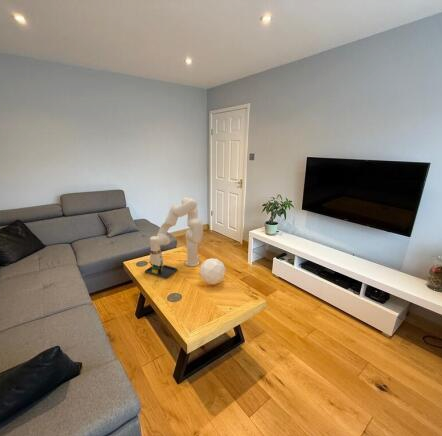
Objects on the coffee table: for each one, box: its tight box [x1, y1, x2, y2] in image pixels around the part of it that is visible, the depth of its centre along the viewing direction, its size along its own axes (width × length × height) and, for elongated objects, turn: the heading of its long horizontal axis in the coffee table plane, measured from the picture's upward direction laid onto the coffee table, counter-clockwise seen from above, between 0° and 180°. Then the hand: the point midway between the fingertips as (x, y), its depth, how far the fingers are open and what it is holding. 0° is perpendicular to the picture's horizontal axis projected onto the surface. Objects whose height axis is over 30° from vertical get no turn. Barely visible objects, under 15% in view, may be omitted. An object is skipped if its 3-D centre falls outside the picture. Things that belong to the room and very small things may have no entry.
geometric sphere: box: [199, 257, 227, 286], centre depth 177 cm, size 19×20×20 cm
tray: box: [144, 264, 178, 280], centre depth 194 cm, size 16×22×2 cm
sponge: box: [152, 265, 162, 274], centre depth 192 cm, size 7×4×5 cm, turn 154°
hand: (157, 271), depth 192 cm, fingers closed on sponge, 4 cm apart
